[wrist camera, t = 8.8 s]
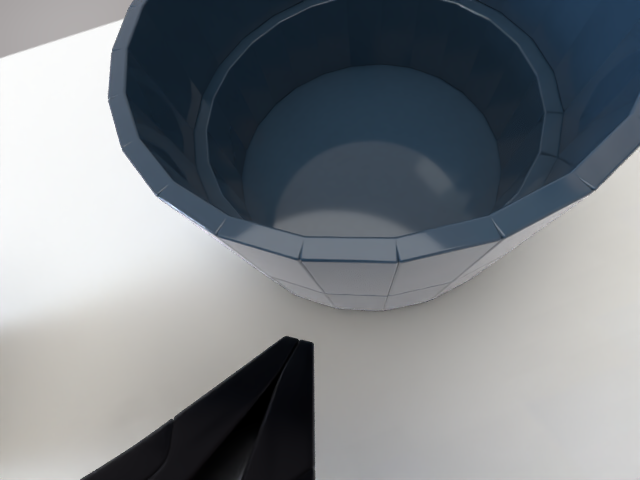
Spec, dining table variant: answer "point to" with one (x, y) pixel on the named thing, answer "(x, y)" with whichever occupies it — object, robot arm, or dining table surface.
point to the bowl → (375, 130)
